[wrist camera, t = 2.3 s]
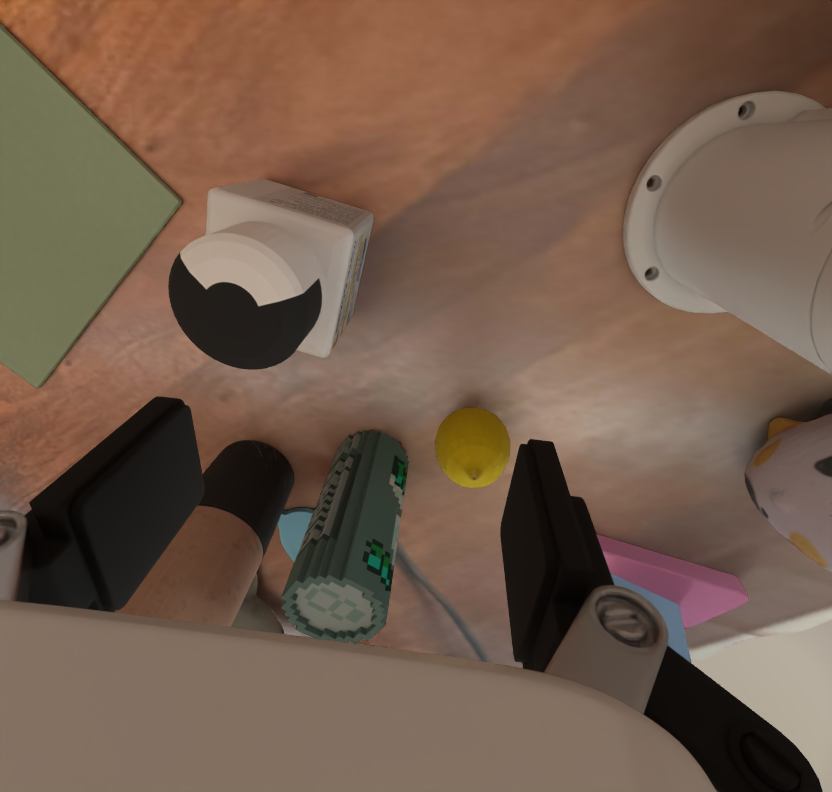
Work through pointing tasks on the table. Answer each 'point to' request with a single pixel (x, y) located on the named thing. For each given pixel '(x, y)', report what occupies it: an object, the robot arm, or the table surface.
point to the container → (269, 274)
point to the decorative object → (294, 529)
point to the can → (350, 543)
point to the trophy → (673, 587)
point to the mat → (63, 214)
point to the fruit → (472, 447)
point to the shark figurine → (256, 613)
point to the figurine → (797, 483)
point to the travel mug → (219, 540)
